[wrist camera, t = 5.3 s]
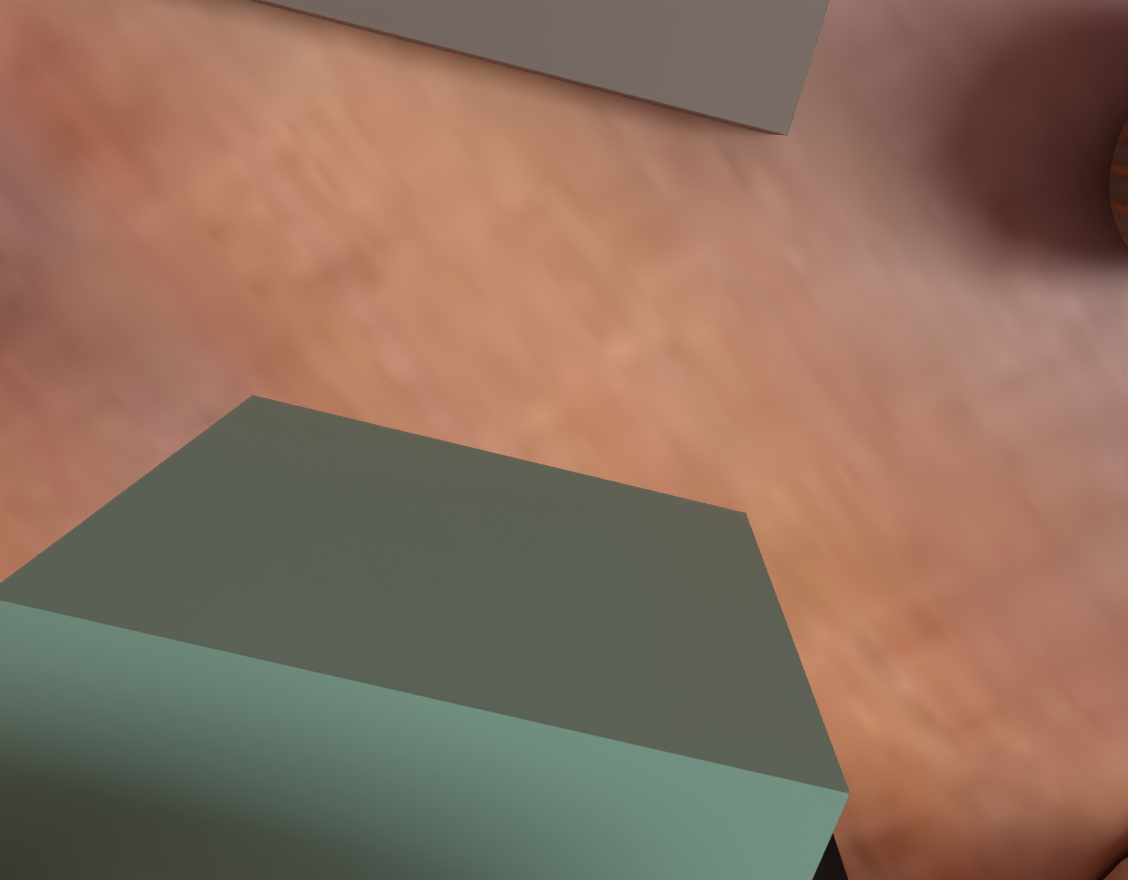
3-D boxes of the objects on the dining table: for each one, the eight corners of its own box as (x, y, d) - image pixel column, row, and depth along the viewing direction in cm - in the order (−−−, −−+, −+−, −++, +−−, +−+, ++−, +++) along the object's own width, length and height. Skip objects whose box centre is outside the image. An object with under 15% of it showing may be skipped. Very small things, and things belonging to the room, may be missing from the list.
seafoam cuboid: (745, 512, 11) (849, 793, 6) (619, 884, 13) (627, 1300, 9) (253, 395, 11) (-17, 596, 6) (204, 793, 13) (-23, 1168, 8)
